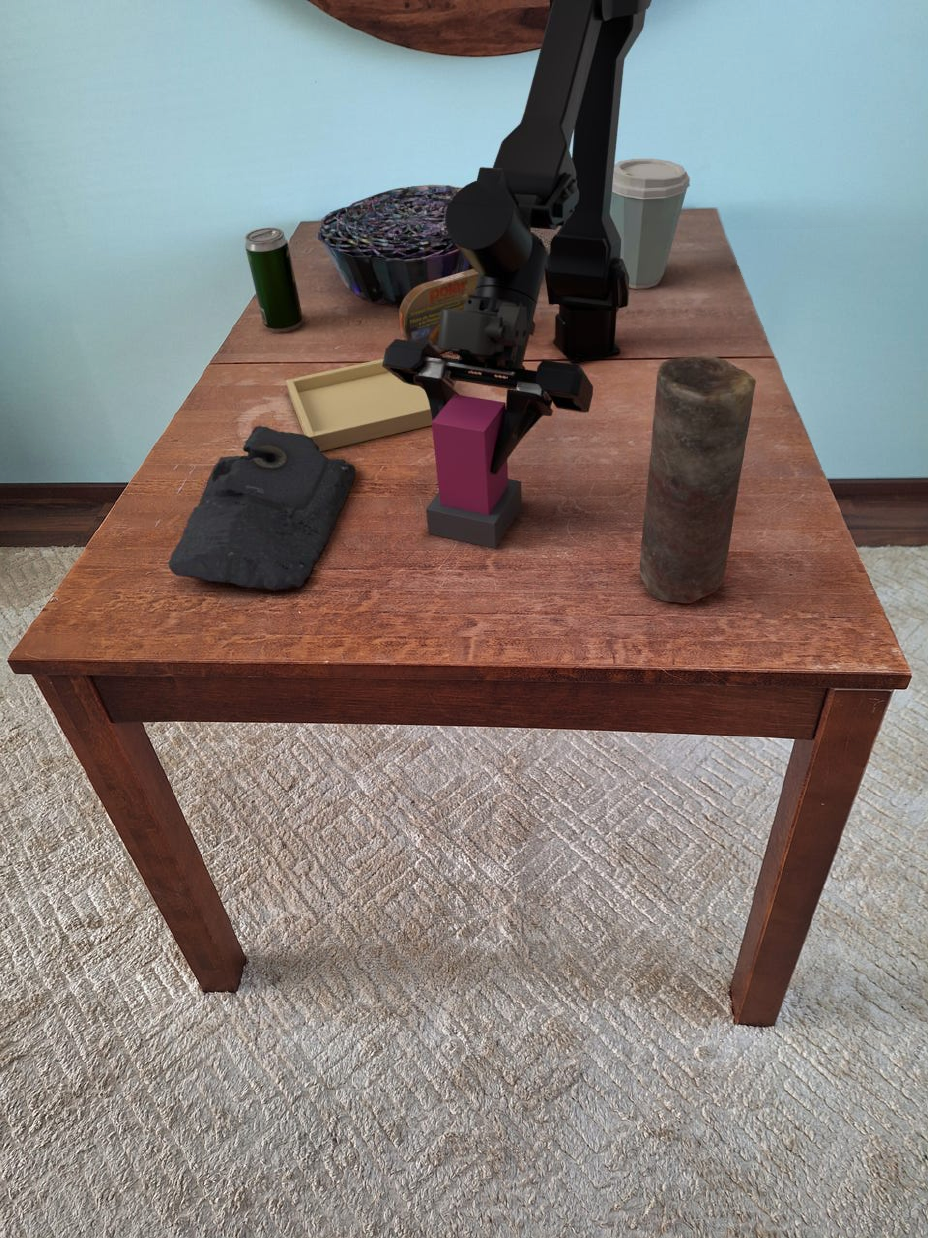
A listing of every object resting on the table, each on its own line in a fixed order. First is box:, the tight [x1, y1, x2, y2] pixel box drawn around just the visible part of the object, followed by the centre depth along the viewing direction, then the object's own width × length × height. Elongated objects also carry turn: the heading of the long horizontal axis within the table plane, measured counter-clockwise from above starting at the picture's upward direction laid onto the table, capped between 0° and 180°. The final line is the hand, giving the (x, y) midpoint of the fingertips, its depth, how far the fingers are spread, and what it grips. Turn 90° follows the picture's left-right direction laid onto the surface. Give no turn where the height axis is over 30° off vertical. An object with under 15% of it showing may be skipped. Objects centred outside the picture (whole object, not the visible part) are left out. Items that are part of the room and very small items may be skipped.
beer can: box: [244, 227, 304, 334], centre depth 114 cm, size 5×5×12 cm
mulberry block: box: [431, 394, 509, 515], centre depth 79 cm, size 5×5×9 cm
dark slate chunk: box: [168, 425, 357, 591], centre depth 85 cm, size 15×22×5 cm
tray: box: [285, 358, 432, 453], centre depth 100 cm, size 18×14×2 cm
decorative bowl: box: [317, 184, 473, 308], centre depth 124 cm, size 26×28×10 cm
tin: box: [398, 269, 479, 354], centre depth 108 cm, size 15×3×8 cm, turn 117°
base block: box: [425, 478, 523, 549], centre depth 84 cm, size 7×7×3 cm
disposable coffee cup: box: [610, 158, 691, 290], centre depth 116 cm, size 11×11×15 cm
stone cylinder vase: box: [639, 355, 757, 604], centre depth 70 cm, size 8×7×20 cm
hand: (465, 467), depth 79 cm, fingers closed on mulberry block, 5 cm apart
